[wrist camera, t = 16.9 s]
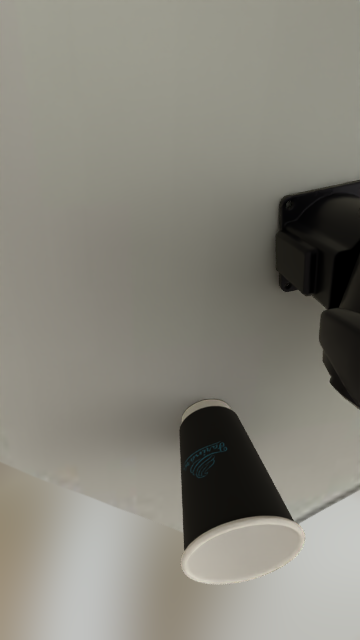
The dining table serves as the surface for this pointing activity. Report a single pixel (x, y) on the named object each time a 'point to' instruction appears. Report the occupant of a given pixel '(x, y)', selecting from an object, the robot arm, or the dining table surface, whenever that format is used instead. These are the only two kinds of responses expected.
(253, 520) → the dixie cup
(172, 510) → the dining table surface
